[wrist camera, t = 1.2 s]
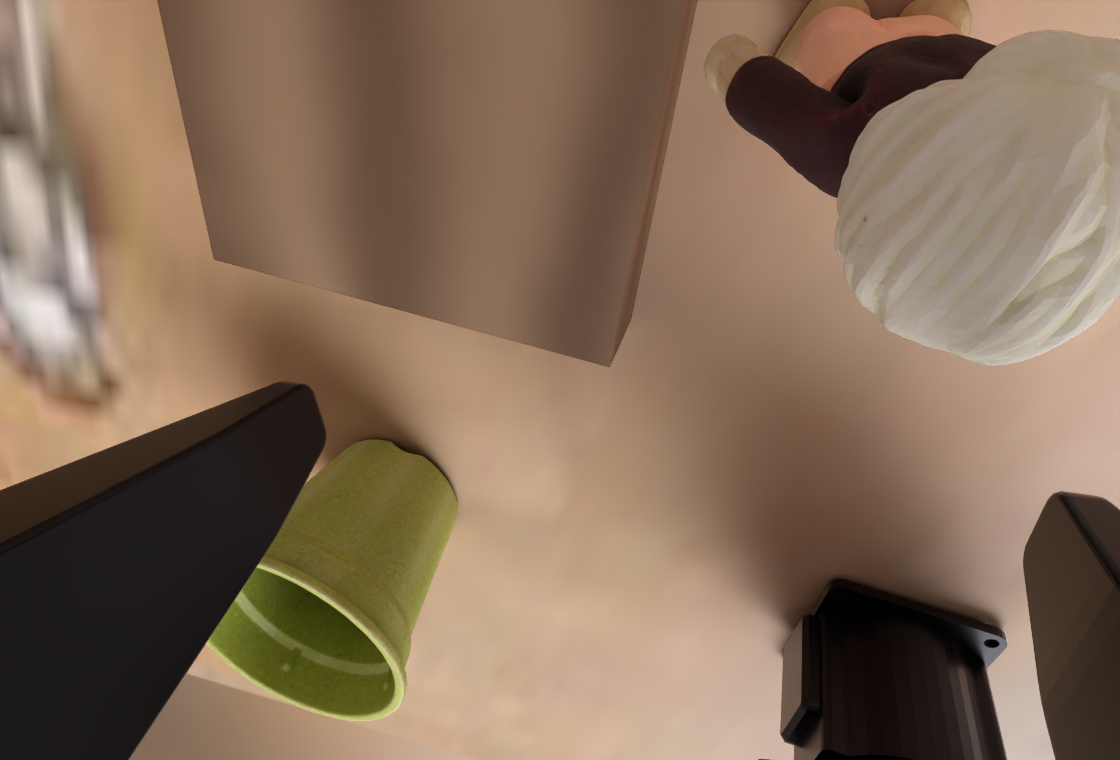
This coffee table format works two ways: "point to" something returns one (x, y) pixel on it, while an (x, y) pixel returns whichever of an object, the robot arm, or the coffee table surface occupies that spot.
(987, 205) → the grandmother figurine
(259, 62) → the walnut base
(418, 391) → the coffee table surface
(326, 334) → the coffee table surface
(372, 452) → the plant pot
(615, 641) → the coffee table surface
